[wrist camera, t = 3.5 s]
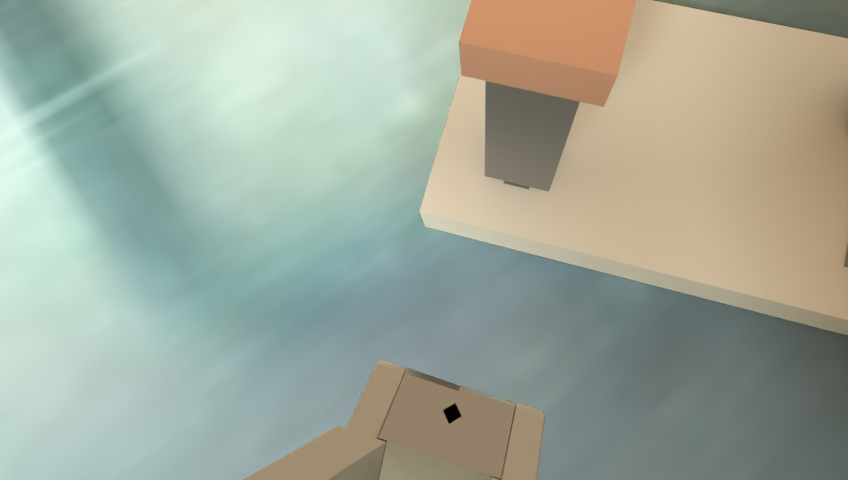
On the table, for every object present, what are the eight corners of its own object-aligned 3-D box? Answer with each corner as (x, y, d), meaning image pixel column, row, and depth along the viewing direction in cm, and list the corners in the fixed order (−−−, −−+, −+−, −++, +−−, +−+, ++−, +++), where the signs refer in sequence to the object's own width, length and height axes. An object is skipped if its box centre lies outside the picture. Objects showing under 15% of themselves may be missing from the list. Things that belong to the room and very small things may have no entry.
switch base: (906, 350, 29) (954, 346, 26) (425, 226, 33) (419, 210, 30) (941, 94, 32) (989, 64, 29) (490, 3, 35) (490, -33, 32)
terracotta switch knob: (563, 200, 29) (617, 75, 17) (468, 177, 30) (459, 41, 18) (578, 139, 29) (641, -22, 18) (485, 118, 30) (486, -51, 18)
